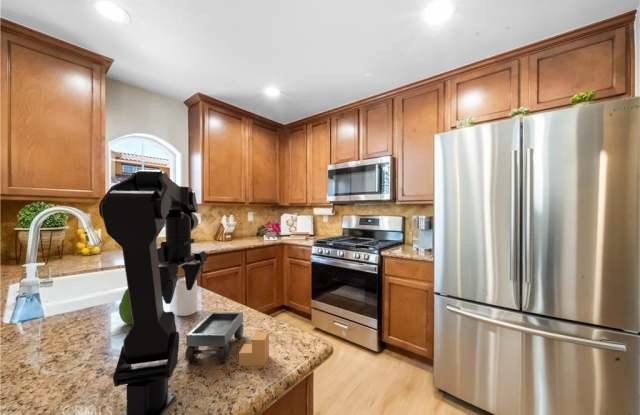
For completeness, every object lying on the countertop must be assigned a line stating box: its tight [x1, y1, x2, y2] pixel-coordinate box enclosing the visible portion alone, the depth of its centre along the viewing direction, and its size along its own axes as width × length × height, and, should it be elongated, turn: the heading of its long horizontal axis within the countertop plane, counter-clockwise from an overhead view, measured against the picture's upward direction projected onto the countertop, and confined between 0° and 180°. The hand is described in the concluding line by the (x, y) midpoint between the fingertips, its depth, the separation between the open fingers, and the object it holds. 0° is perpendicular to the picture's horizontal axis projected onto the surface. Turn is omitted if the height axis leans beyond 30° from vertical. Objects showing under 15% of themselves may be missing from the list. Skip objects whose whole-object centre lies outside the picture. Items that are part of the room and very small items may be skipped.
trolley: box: [184, 311, 244, 363], centre depth 66 cm, size 14×9×7 cm, turn 179°
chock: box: [238, 330, 270, 367], centre depth 61 cm, size 6×4×6 cm, turn 89°
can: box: [175, 275, 198, 317], centre depth 89 cm, size 6×6×12 cm
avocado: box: [118, 288, 133, 325], centre depth 81 cm, size 8×8×12 cm
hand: (179, 296), depth 67 cm, fingers open, 9 cm apart
